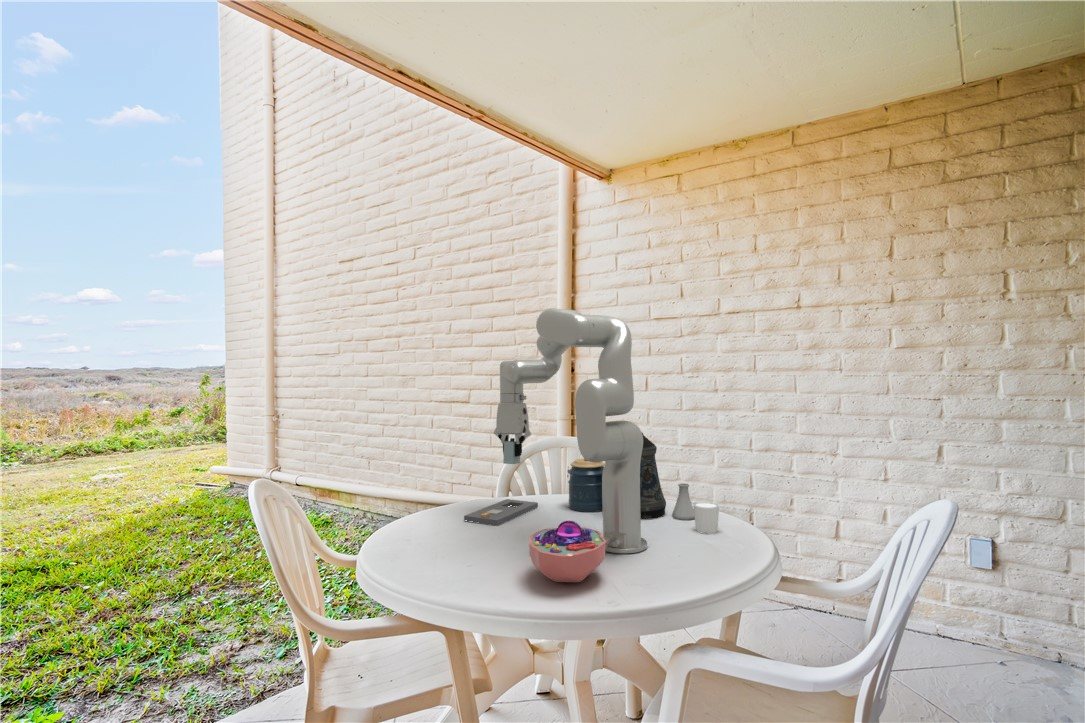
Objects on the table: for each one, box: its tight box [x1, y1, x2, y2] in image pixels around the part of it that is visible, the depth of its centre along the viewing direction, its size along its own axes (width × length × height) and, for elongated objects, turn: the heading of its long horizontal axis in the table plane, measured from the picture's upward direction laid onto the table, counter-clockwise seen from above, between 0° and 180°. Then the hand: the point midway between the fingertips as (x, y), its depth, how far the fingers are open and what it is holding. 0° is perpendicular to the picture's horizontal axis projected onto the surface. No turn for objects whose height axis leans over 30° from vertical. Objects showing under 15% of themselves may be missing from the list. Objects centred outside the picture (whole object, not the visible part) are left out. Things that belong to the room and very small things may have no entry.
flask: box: [671, 482, 695, 521], centre depth 166 cm, size 7×7×10 cm
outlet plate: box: [463, 498, 539, 527], centre depth 174 cm, size 24×12×2 cm, turn 151°
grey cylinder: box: [692, 502, 720, 534], centre depth 152 cm, size 7×7×7 cm
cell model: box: [528, 520, 606, 583], centre depth 119 cm, size 17×20×11 cm
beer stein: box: [604, 432, 667, 520], centre depth 171 cm, size 16×19×25 cm
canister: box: [567, 457, 605, 513], centre depth 180 cm, size 13×13×18 cm
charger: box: [502, 437, 521, 465], centre depth 179 cm, size 4×4×8 cm
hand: (512, 455), depth 179 cm, fingers closed on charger, 3 cm apart
